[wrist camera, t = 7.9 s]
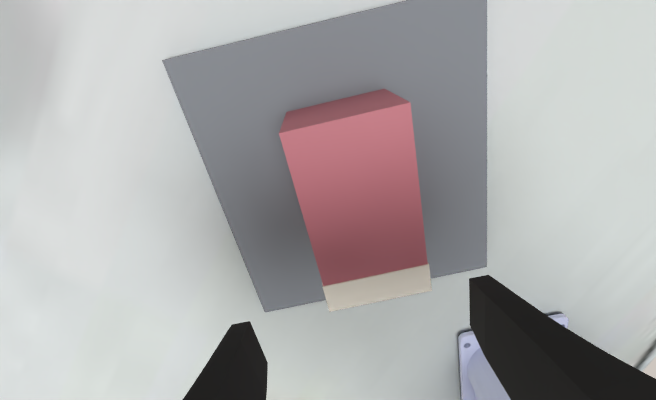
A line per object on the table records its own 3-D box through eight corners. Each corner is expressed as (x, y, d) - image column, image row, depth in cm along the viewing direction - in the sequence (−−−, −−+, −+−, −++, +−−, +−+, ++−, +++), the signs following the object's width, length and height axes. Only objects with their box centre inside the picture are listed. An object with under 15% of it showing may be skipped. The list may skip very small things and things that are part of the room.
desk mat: (482, 262, 22) (486, 266, 21) (265, 307, 22) (264, 312, 22) (481, -18, 15) (486, -20, 14) (166, 59, 15) (162, 60, 15)
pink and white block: (385, 88, 16) (412, 102, 12) (406, 239, 20) (432, 290, 16) (285, 111, 16) (277, 133, 12) (325, 257, 20) (329, 311, 16)
